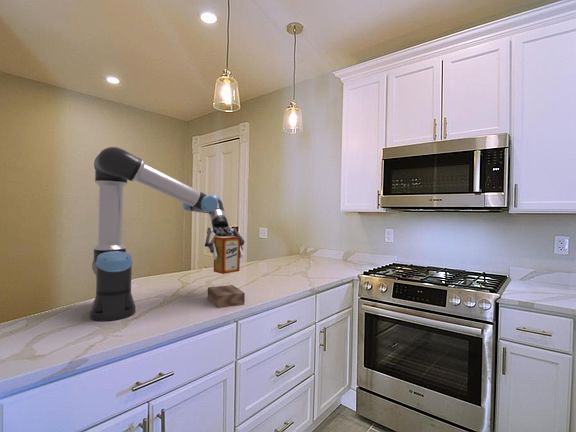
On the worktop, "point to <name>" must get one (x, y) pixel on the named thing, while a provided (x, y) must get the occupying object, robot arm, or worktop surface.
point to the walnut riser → (225, 296)
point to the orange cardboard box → (227, 254)
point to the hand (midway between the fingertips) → (228, 257)
